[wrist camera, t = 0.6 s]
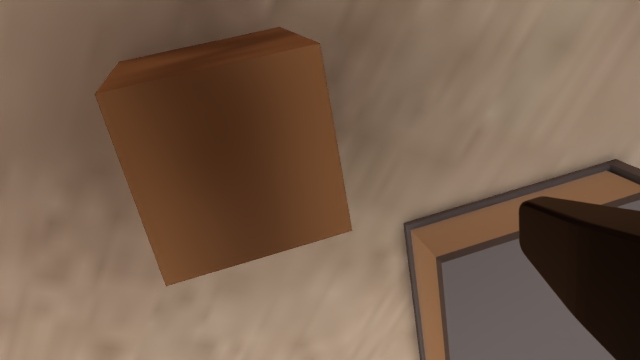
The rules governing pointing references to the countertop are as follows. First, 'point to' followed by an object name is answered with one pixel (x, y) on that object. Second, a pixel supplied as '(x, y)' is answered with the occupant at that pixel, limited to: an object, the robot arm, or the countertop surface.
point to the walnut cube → (228, 150)
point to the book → (502, 275)
